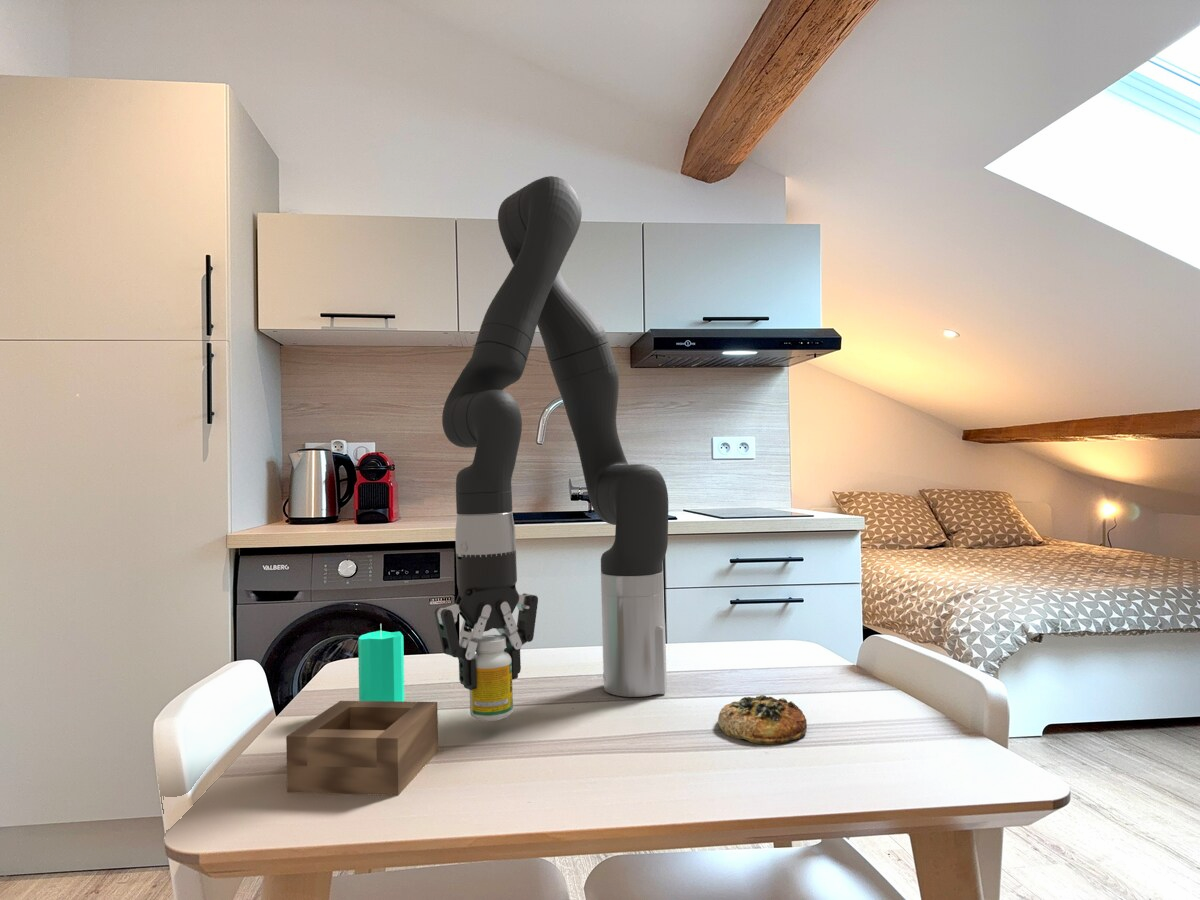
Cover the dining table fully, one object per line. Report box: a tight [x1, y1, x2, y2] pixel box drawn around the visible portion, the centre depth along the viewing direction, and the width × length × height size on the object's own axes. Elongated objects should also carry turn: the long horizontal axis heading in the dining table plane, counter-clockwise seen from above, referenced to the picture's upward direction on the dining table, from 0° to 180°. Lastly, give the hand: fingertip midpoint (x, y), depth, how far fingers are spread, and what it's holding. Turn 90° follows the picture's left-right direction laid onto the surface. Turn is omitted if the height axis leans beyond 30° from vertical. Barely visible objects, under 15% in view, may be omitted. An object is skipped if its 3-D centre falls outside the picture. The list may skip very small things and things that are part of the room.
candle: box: [357, 623, 405, 702], centre depth 103 cm, size 6×6×12 cm
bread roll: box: [717, 694, 808, 745], centre depth 92 cm, size 11×11×5 cm
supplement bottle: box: [469, 634, 514, 722], centre depth 94 cm, size 5×5×10 cm
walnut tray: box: [285, 700, 439, 796], centre depth 82 cm, size 12×12×6 cm
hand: (490, 682), depth 94 cm, fingers closed on supplement bottle, 5 cm apart
